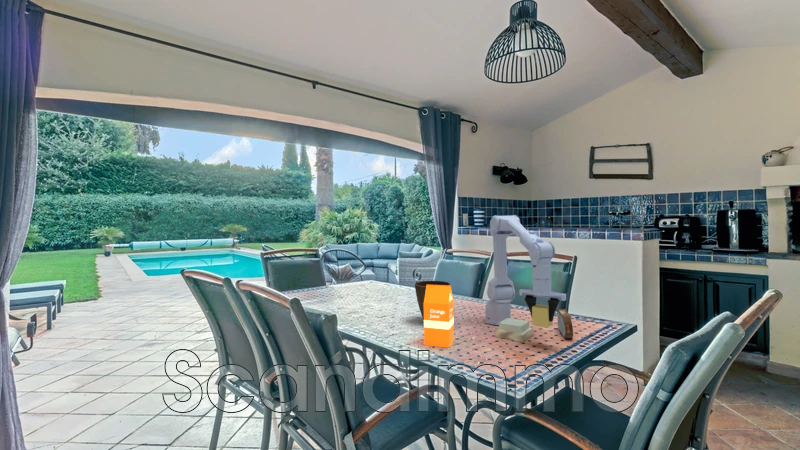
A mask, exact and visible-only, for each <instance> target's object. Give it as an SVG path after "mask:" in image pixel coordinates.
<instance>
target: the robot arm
mask: <svg viewBox="0 0 800 450" xmlns="http://www.w3.org/2000/svg"><path fill="white" fill-rule="evenodd" d="M489 230H490V231H489V232H490V236H491V237H492V244H493V245H492V246H493V269H494V271H493V272H494V273H493V274H494V277H493V278H492V279H490V280H489V281H488V283H487V291H486V293H487V294H486V295H487V298H488V300H487V301H486V303H485V321H484V323H485V324H489V325H494V326H499V322H501V321H503V320H505V319H507V318H511V317H512V316H511V312H512V311H511V310H512V309H511V303H512V302H513V300H514V299H515V296H516V290H515V286H514V281H512V280H511V279H510V278H509V277H508V257H507V256H508V255H507V239H508V237H509V236H511V235H513V234H514V235H516V236H517V237H518V238H519V242H520V244H521V245H522V246H523V247H524V248H525V249H526V250H527V251H528V255H529V260H530V263H531V265H532V289H528V288H527V289H523V288H521V289H519V296H525V297H524V301H525V303H526V305H527V307H528V309H529V313H530V316H531V318H532V307H533V306H534V305H536V304H537V298H539V299H540V298H541V299H548V300H547V303H548V304H547V305H549V321H550V322H552V321H554V318H555V313H556V311H557V308H558V306H559V304H560V302H562V301H564V302H565V301H567V293H560V292H556V291H552V259H553V258H554V257H555V254H556V249H555V246H554V244H553V243H552V242H551V241H544V240H543V239H542V238H541V237H539V236H538V235H537V234H536V231H534V230H527V229H526V228H525V227H524V226H523V225H522V224H521V220H520V218H519V217H518V215H516V214H513V215H493V216H492V217H491V219H490V221H489Z"/></svg>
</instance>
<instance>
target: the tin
mask: <svg viewBox="0 0 800 450" xmlns="http://www.w3.org/2000/svg"><path fill="white" fill-rule="evenodd" d="M556 317H557V318H556V319H557V329H558V330H559V333H560V334H561V335H562V337H563V338H564V339H573V337H574V328H573V322H572V321H573V320H572V318H571V315H570V313H568V311H567V310H566V309H565V308H563V309H556Z"/></svg>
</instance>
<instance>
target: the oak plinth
mask: <svg viewBox="0 0 800 450" xmlns="http://www.w3.org/2000/svg"><path fill="white" fill-rule="evenodd" d="M494 333H495V338H499V339H500V338H501V339H506V340H511V341H515V342H519V343H520V342H521V343H524V342H525V341H527V340H528V339H529V338H531V337H532V336H533V335H534V328H533V327H530V326H529V329H527V330H526V331H524V332H523V333H522V334H520V333H514V332H509V331H504V330H499V327H497V328H496V329H495V332H494Z"/></svg>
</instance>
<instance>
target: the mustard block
mask: <svg viewBox="0 0 800 450" xmlns="http://www.w3.org/2000/svg"><path fill="white" fill-rule="evenodd" d="M553 321H554V320H553ZM553 321H552V322H550V321H549V305H548V304H547V305H546V304H541V303H540V304H539V303H536V305H534V306H533V307H532V317H531V322H532V323H531V325H532V326H535V327H536V326H537V327H541V328H542V327H543V328H549V327H551V326H552V325H553V323H554V322H553Z"/></svg>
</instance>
